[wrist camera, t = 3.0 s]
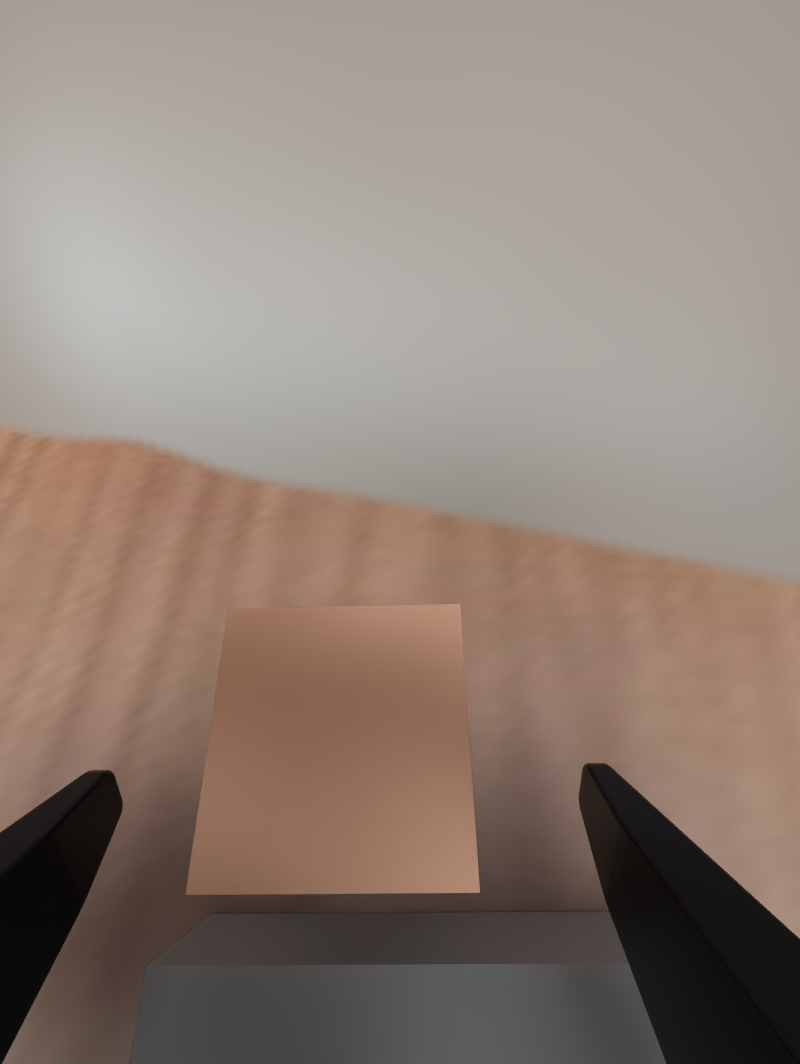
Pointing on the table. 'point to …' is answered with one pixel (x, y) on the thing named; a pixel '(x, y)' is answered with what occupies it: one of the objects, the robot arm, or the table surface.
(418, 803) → the peg
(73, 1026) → the table surface
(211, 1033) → the socket block
